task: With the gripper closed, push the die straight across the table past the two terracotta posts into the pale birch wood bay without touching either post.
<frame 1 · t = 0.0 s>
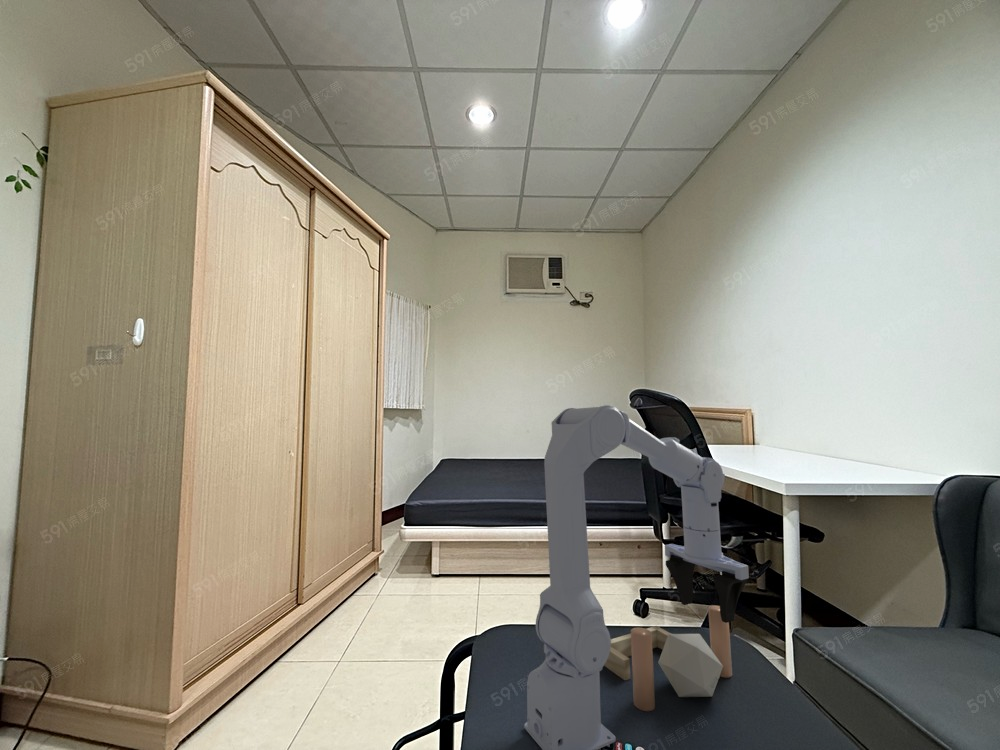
hand: (706, 611, 70), 10 cm above the table, tool pointing down, fingers open, 7 cm apart
trap post far: (722, 672, 70), on the table
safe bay: (642, 660, 74), on the table
die: (691, 692, 65), on the table
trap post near: (644, 704, 62), on the table
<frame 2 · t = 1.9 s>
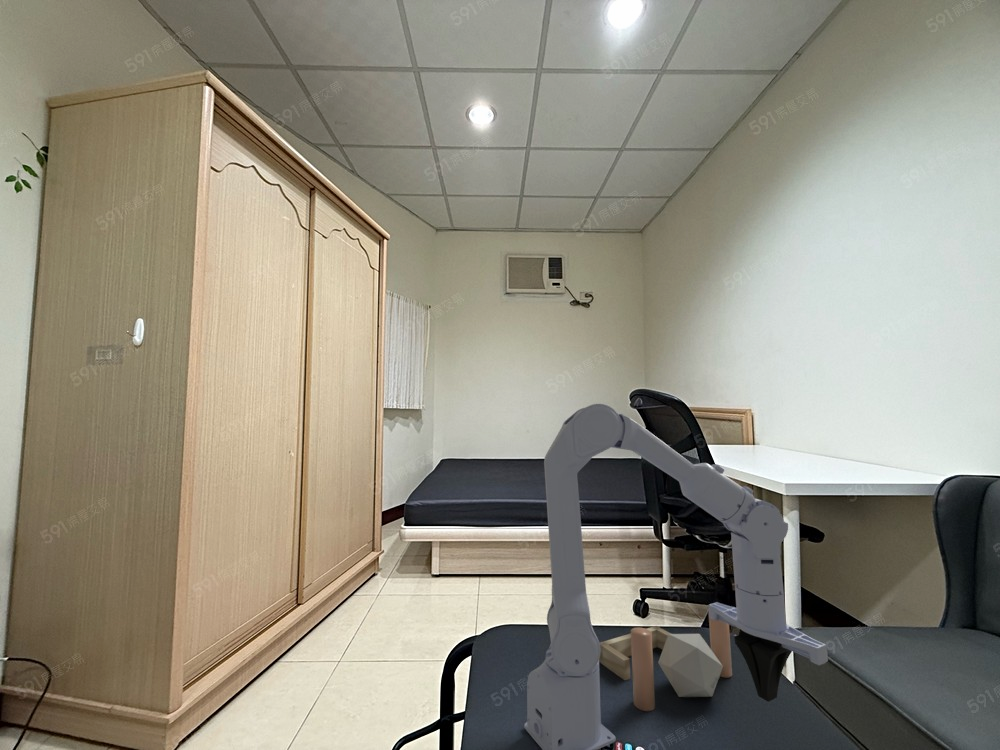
hand: (767, 696, 55), 5 cm above the table, tool pointing down, fingers closed
nothing on the table moved.
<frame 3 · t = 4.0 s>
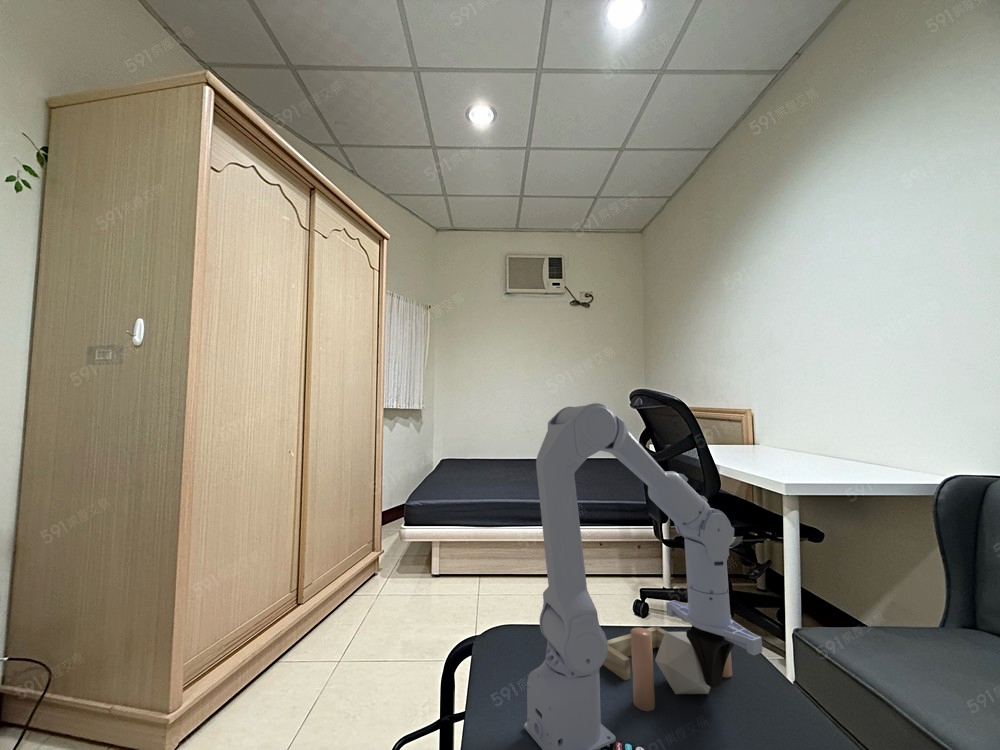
hand: (713, 684, 62), 3 cm above the table, tool pointing down, fingers closed
die: (687, 689, 66), on the table, touching gripper
everything else where it was.
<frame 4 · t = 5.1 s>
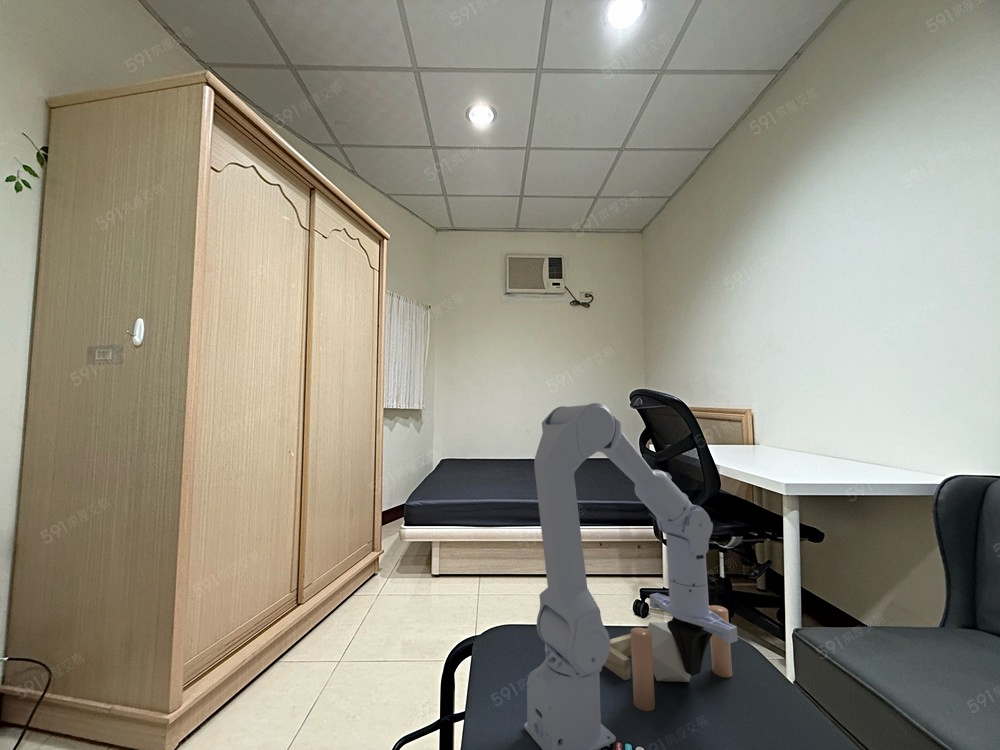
hand: (692, 672, 65), 3 cm above the table, tool pointing down, fingers closed
die: (670, 677, 69), on the table, touching gripper
everything else where it was.
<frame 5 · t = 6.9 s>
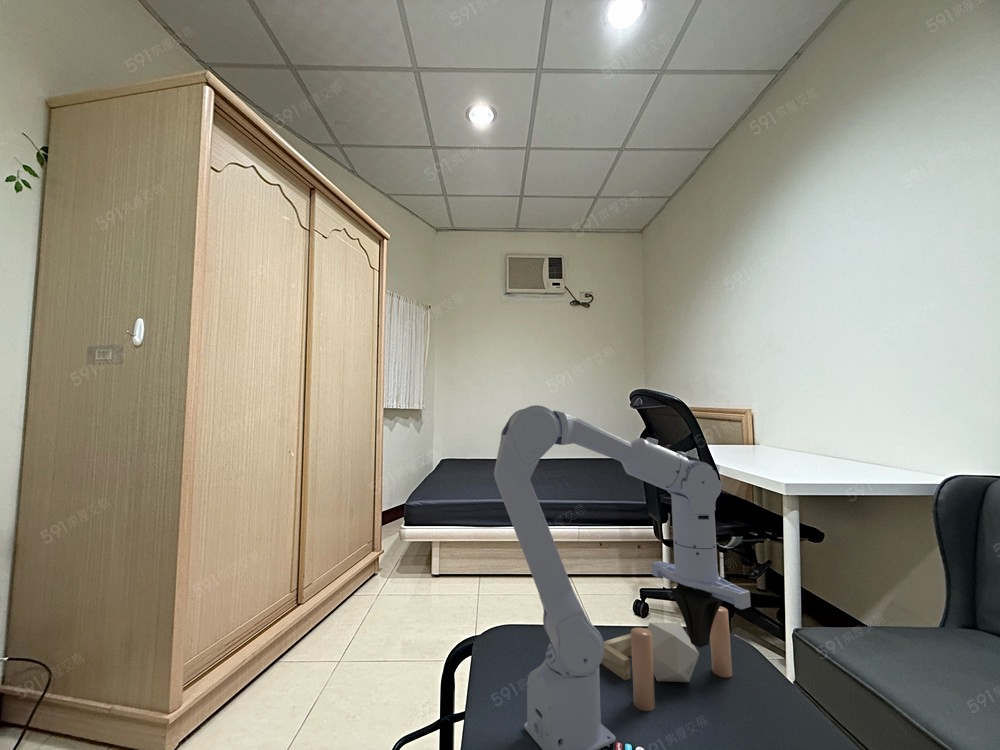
hand: (699, 644, 59), 10 cm above the table, tool pointing down, fingers closed
die: (669, 677, 69), on the table
everything else where it was.
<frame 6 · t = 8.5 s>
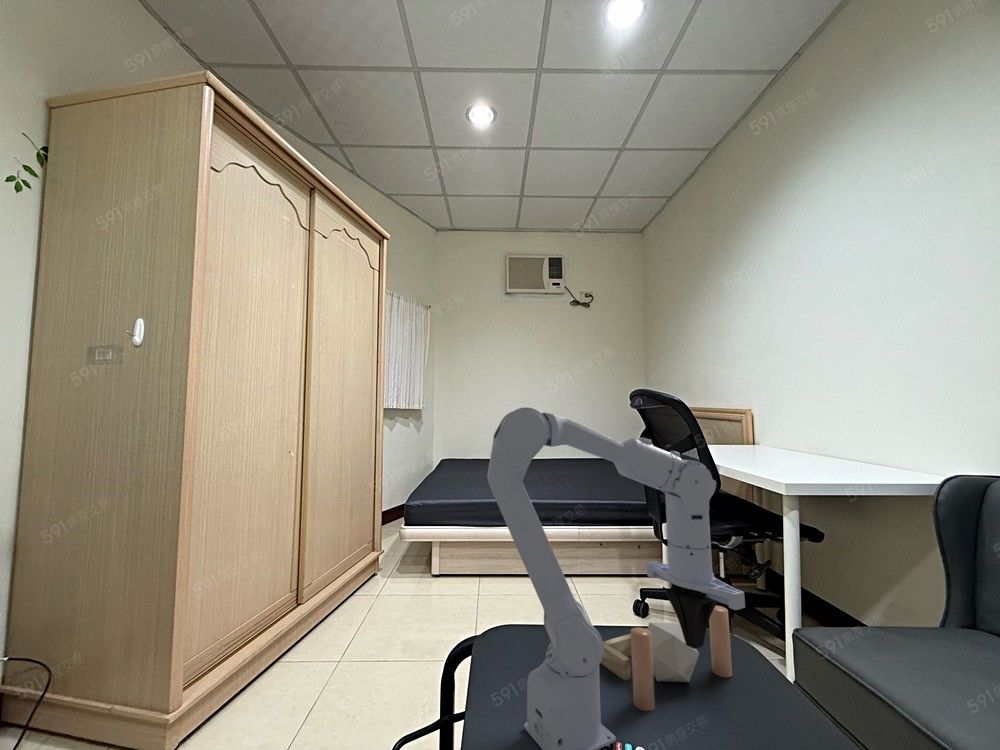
hand: (694, 645, 59), 10 cm above the table, tool pointing down, fingers closed
nothing on the table moved.
at the end: die 2.2 cm from the target spot, on the table; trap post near moved 0.0 cm from its start; trap post far moved 0.0 cm from its start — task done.
